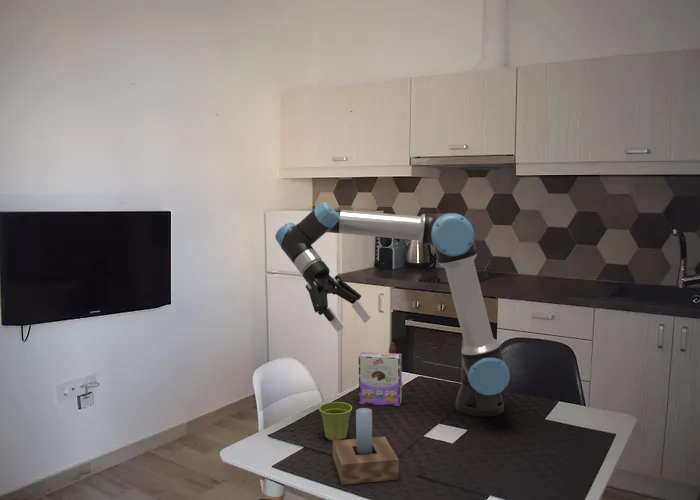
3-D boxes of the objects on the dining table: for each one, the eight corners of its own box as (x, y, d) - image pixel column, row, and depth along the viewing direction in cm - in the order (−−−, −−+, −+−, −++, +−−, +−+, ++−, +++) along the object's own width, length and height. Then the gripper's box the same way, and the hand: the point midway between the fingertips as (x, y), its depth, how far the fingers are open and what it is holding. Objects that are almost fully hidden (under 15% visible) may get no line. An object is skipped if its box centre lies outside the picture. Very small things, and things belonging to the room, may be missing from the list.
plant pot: (348, 445, 163) (348, 414, 162) (315, 442, 165) (315, 412, 164) (355, 431, 172) (355, 402, 171) (323, 429, 174) (323, 400, 173)
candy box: (402, 401, 198) (402, 353, 196) (399, 407, 192) (399, 357, 190) (362, 398, 201) (361, 350, 199) (358, 404, 195) (358, 355, 194)
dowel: (370, 460, 151) (370, 407, 150) (373, 467, 147) (373, 413, 146) (355, 461, 150) (354, 408, 149) (358, 468, 146) (357, 414, 145)
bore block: (384, 454, 157) (384, 436, 156) (398, 479, 143) (398, 459, 143) (333, 459, 154) (332, 440, 154) (341, 484, 140) (341, 464, 140)
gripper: (330, 271, 185) (370, 324, 178) (277, 281, 165) (320, 341, 157) (344, 255, 181) (385, 308, 174) (291, 263, 161) (336, 324, 154)
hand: (355, 324), depth 166 cm, fingers open, 13 cm apart
